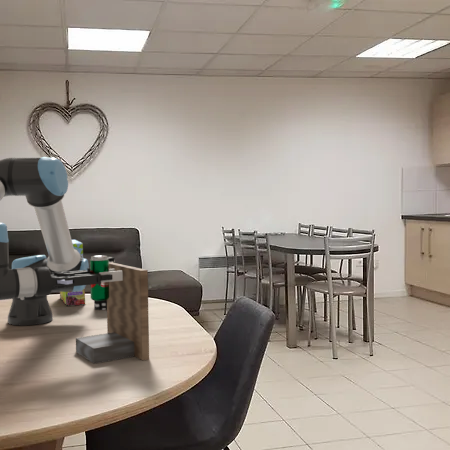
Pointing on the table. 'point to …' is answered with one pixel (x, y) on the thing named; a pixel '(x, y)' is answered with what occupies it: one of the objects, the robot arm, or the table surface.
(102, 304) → the spotted tube
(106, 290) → the soda can
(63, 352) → the table surface
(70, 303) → the snack box
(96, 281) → the robot arm
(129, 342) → the wall board
